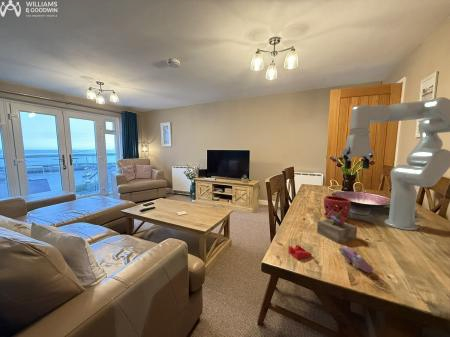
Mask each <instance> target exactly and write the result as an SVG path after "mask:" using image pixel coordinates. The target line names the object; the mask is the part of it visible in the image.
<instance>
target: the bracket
mask: <svg viewBox="0 0 450 337" xmlns="http://www.w3.org/2000/svg"><path fill="white" fill-rule="evenodd" d="M288 254H289V255H290V256H292V257H293V258H294V259H295V260H297V261H298V260H302V259H306V258H312V255H313V254H312V253H311V252H309V251H307V250H305V249H304V247H302V246H300V245H299V244H296V245H295V246H294V247H293V246H291V245H290V246H288Z"/></svg>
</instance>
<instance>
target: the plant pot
mask: <svg viewBox="0 0 450 337" xmlns="http://www.w3.org/2000/svg"><path fill="white" fill-rule="evenodd" d="M351 205H352V200H351V199H349V198H346V197H342V196H335V195H326V196H324V197H323V207H324V211H325V212H324V214H323V215H324V216H325V217H326V218H327V219H330V218H328V212H329V211H331V209H332V210H333V211H335V212H337V213H339V212H340V211H341V210H342V211H341V213H340V215H341V214H342V216H345V217H346V218H347V219H346V221H347V220H348V218H349V217H348V215H349V213H350V210H351Z"/></svg>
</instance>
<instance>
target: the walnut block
mask: <svg viewBox="0 0 450 337" xmlns="http://www.w3.org/2000/svg"><path fill="white" fill-rule="evenodd" d="M331 222H332V223H331ZM333 222H334V220H332V219H329V218H327V219H324V220H318V221H317V229H316V233H317V234H318V235H321V236H322V237H323V238H327V239H329V241H330V240H331V241H332V242H335V243H336V244H341V243H346V242H351V241H354V240H357V234H358V233H357V230H358V227H357V226H356V225H353V224H350V223H348V222H346V221H345V222H344V224H343V226H342V225H340V224H339V223H337V222H335V223H336V224H335V223H334V224H333ZM332 224H333V225H332Z"/></svg>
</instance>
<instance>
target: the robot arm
mask: <svg viewBox="0 0 450 337" xmlns="http://www.w3.org/2000/svg"><path fill="white" fill-rule="evenodd" d="M350 113H351V114H350V124H349V125H350V127H349V135H347V138H346V142H345V145H344V146H345V147H344V149H342V150H341V151H340V155H341V157H342V159H343V160H344V169H346V170H351V169H352V160H351V159H352V158H353V157H357V158H358V157H360V158H361V157H362V158H363V160H362V166H361V168H362V169H365V170H369V169H370V161H371V160H372V158H373V157H374V155H375V153H376V152H375V150H373V149H372V148H371V136H370V133H371V131H370V127H371V126H370V124H377V123H379V124H380V123H393V122H404V121H412V120H414V121H415V120H421V121H420V122H419V123H418V126H417V127H418V132H419V135H420V136H419V137H420V138H419V141H418V143H417V144H416V145H415V147H414V148H412V150H411V151H410V153H409V154H408V155H407V157H406V160H405V161H406V164H398V165H396V166H394V167H392V168H391V170H390V174H389V175H390V180H391V181H390V182H391V192H390V194H391V195H390V202H389V203H390V204H389V212H388V213H389V216H388V218H386V219H384V223H385V224H386V225H388V226H390V227H393V228H396V229H400V230H405V231H417V230H418V229H419V226H418V225H417V224H416V223H421V221H422V219H421V218H419V217H418V218H415V214H416V207H417V197H418V196H417V195H418V192H417V189H416V187H422V188H430V187H433V186H435V185H436V184H437V183H438V182H439V181H440V180H441V178H442V177H443V176H444V175H445V174H446V173H447V172H448V170H450V150H448V149H445V148H442V147H443V145H444V142H443V140H442V139H441V138H440V136H439V134H440V133H441V134H442V133H444V134H445V133H450V98H447V97H444V96H442V97H436V98H431V99H427V100H420V101H409V102H408V101H407V102H399V103H394V104H390V105H385V104H377V105H366V104H365V105H357V106H356V105H355V106H353V107H352V108H351V112H350ZM415 186H416V187H415Z"/></svg>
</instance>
